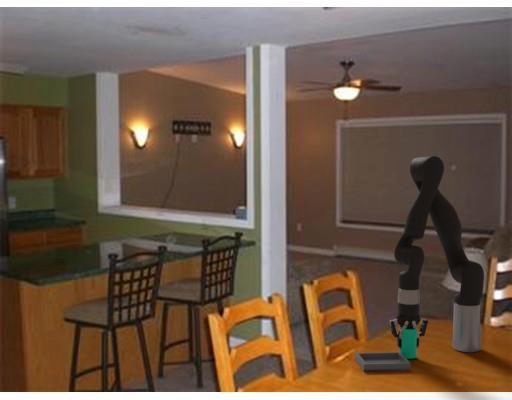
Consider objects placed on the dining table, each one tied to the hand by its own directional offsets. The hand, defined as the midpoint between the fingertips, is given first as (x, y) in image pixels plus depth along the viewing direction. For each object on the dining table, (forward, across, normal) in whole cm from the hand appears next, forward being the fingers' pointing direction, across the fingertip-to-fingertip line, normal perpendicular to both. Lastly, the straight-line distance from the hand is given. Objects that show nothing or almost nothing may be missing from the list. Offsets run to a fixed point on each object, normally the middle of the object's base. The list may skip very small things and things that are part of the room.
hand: (408, 347), depth 222 cm
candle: (+3, 0, 0) cm, 3 cm away
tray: (+3, +11, +7) cm, 14 cm away
